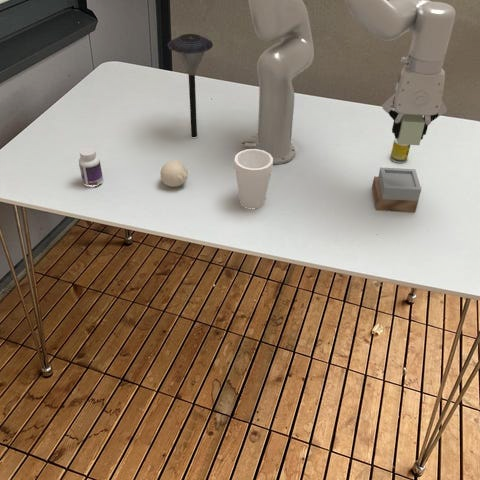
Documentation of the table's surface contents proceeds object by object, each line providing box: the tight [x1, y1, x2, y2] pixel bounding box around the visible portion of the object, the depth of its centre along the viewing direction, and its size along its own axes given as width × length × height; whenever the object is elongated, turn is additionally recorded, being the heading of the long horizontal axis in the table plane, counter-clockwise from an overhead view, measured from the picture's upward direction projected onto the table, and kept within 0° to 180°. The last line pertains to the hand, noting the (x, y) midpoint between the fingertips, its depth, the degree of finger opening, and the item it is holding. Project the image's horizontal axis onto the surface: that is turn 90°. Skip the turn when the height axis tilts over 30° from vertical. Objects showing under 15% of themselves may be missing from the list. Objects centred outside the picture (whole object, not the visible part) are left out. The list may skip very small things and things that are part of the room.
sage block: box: [396, 114, 425, 146], centre depth 135 cm, size 5×5×6 cm
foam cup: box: [233, 148, 274, 210], centre depth 144 cm, size 10×9×13 cm
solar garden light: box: [167, 33, 214, 138], centre depth 162 cm, size 12×12×30 cm
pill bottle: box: [78, 146, 104, 186], centre depth 150 cm, size 5×5×10 cm
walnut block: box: [371, 176, 419, 213], centre depth 149 cm, size 10×10×4 cm
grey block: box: [377, 167, 422, 202], centre depth 146 cm, size 9×9×4 cm
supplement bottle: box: [389, 137, 411, 164], centre depth 162 cm, size 5×5×8 cm
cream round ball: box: [160, 160, 189, 188], centre depth 151 cm, size 7×7×7 cm
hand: (407, 135), depth 137 cm, fingers closed on sage block, 5 cm apart
